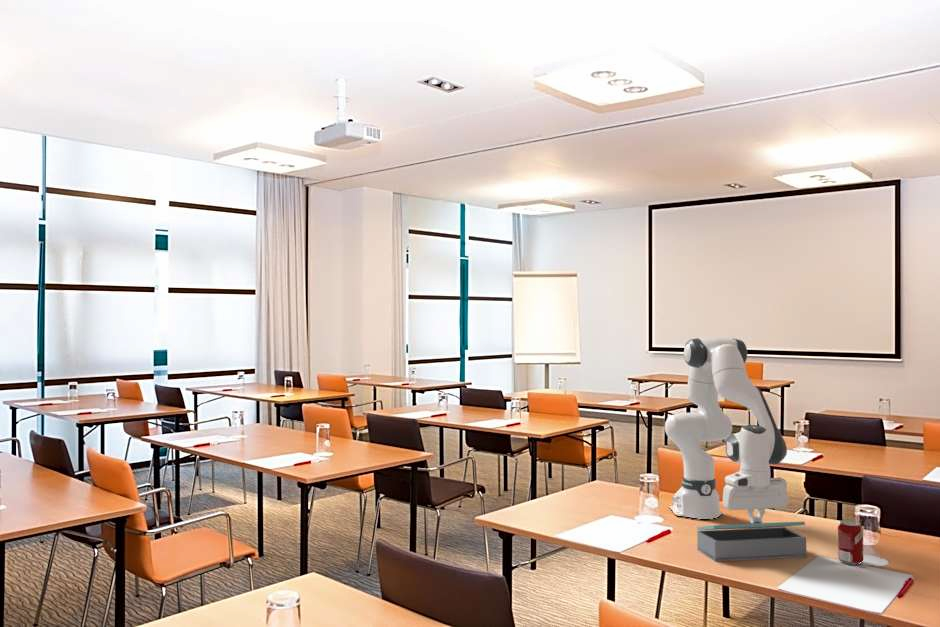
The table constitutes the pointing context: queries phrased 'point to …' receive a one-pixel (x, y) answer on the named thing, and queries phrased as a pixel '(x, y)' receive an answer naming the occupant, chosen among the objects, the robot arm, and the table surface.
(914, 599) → the table surface
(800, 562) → the table surface
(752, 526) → the lid
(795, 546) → the grey open box
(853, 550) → the soda can
